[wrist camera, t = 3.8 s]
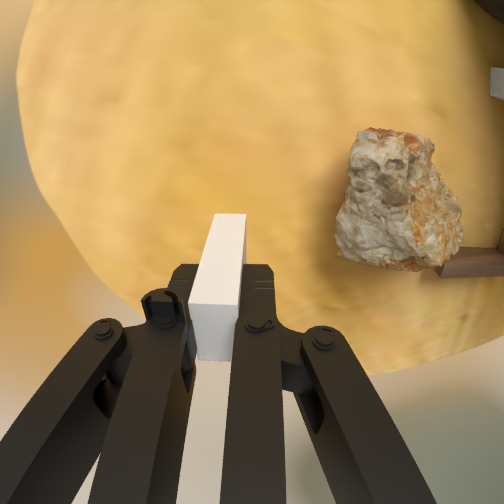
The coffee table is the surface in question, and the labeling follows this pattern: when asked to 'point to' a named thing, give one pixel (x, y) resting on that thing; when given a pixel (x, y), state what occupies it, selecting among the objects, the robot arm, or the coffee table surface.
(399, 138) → the rock
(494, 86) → the t block
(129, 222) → the coffee table surface
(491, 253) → the brown l-shaped block
